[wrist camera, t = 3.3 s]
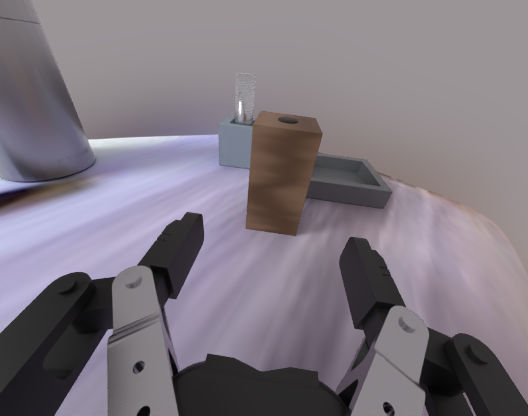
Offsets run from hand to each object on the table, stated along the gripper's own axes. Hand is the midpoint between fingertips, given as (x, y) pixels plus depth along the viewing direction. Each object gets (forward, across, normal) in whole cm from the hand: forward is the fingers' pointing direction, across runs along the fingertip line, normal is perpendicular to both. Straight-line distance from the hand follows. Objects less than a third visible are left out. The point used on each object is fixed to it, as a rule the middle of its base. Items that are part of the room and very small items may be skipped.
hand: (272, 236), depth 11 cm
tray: (+19, -8, +6) cm, 22 cm away
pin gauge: (+23, +6, +6) cm, 25 cm away
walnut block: (+9, 0, +6) cm, 11 cm away
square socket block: (+23, +6, +6) cm, 25 cm away
